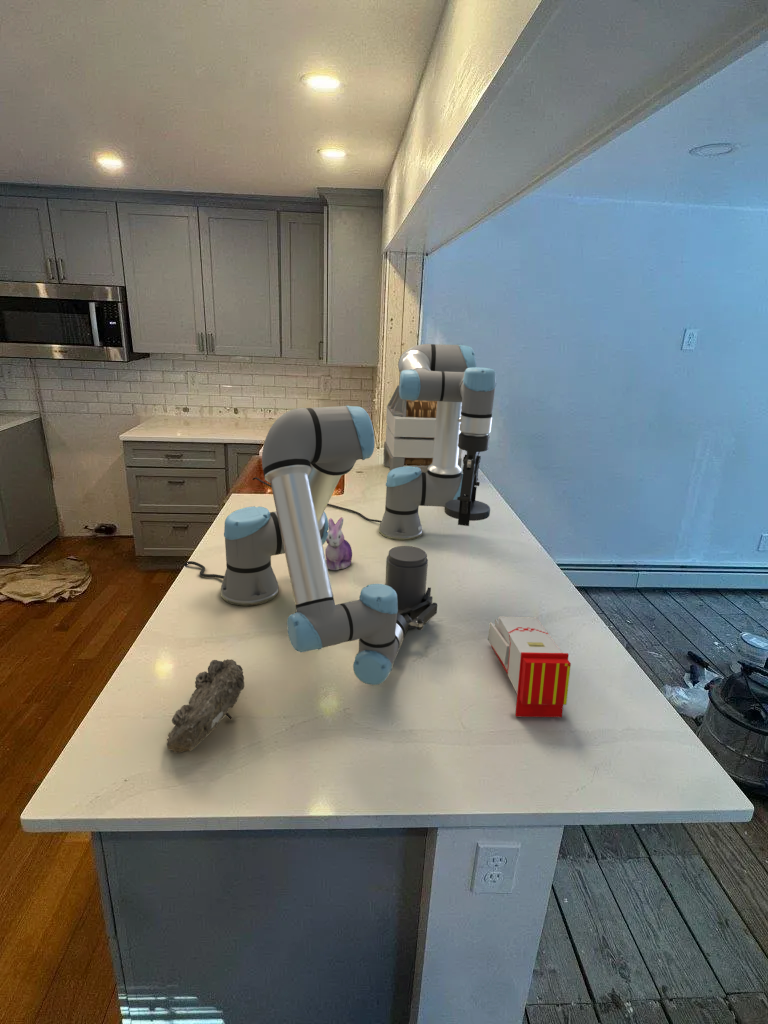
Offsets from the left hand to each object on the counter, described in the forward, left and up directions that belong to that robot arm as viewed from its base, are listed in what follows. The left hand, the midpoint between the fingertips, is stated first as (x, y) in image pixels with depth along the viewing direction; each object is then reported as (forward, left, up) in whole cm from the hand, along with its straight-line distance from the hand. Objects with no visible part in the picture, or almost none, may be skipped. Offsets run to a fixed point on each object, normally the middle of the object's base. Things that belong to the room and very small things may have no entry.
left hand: (408, 588), depth 147 cm
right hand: (+13, +8, +19) cm, 24 cm away
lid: (+13, +8, +21) cm, 26 cm away
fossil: (-27, -52, -6) cm, 58 cm away
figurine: (-26, +21, -6) cm, 34 cm away
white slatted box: (-22, +132, -6) cm, 134 cm away
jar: (0, -4, -6) cm, 8 cm away
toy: (+30, -20, -6) cm, 37 cm away
